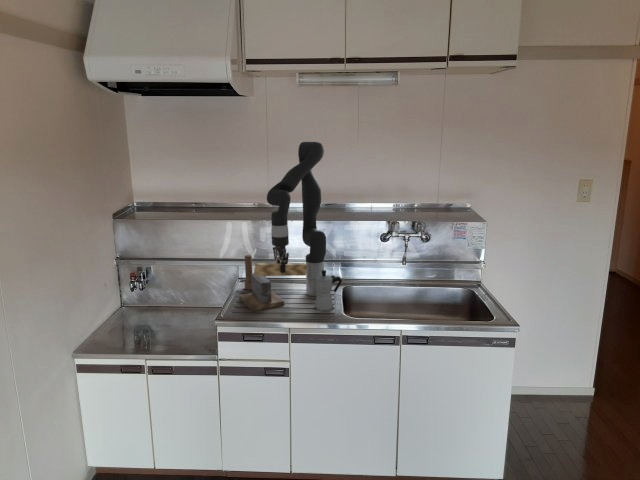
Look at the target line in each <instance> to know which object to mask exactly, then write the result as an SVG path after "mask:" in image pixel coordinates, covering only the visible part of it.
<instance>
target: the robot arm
mask: <svg viewBox="0 0 640 480" xmlns="http://www.w3.org/2000/svg"><path fill="white" fill-rule="evenodd" d="M297 152H298V153H297V155H298V156H297V157H298V164H296V165H295V166H293V167H292V168H290V170H288V171H287V172H286V173H285V175H284V176H283V177H282V179H281V180H280V181H278V182H277V183H276V184H275V185H273V186H272V187H271V188H270V190H269V191H268V192H267V194H266V202H267V203H268V204H269V205H271V206H277V207H278V209H277V210H274V211H272V212H271V217H270V218H271V228H270V229H271V230H270V233H271V234H270V235H271V245H272V246H273V247H272V251H273V257H274V260H275V263H280V271H281V273H285V272H286V269H285V264H288V263H289V257H290V254H289V252H287V248H286V247H287V246H288V245H289V243H290V241H289V240H290V239H289V226H288V213H289V209H290V204H291V200H292V199H291V194H290V193H292V192H294V191H295V189H296V188H297V186H298V185H299V183H300V182H301V198H302V199H301V200H302V201H301V202H302V234H301V235H302V237H301V238H302V241H303V244H305V245H306V246H307V247H309V253H308V254H306V255H305V264H306V265H307V270H306V276H305V282H306V283H305V286H306V287H305V288H306V289H305V292H306V295H307V296H310V297H317V293H318V292H317V291H316V287H315V285H314V284H313V282H312V281H310V280H312V279H314V278H315V277H316V276H320V275H322V272H321V271H322V270H325V257H326V254H327V253H326V252H327V236H326V234H325V232H324V231H322V230H319V229H318V228H317V227H318V226H317V216H318V214H319V211H320V208H321V204H322V188H321V186H320V184H319V181H318V180H317V178H316V177H315V176H314V173H313V170H312V169H313V168H314V167H315V166H316V165H317V164H319V162H320V161H321V160H322V159H323V157H324V155H325V147H324V146H323V144H322V143H321V142H318V141H302V142H301V143H300V144H299V146H298V150H297Z"/></svg>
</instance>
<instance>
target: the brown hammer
mask: <svg viewBox="0 0 640 480" xmlns="http://www.w3.org/2000/svg"><path fill="white" fill-rule="evenodd" d="M252 257H253V256H252V255H251V254H246V255H244V266H245V267H244V269H245V270H244V271H245V282H244V289H245V290H250V291H252V284H251V275H254V272H253V258H252ZM264 277H266V276H264Z"/></svg>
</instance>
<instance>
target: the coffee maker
mask: <svg viewBox="0 0 640 480" xmlns="http://www.w3.org/2000/svg"><path fill="white" fill-rule="evenodd" d="M321 272H322V275H320V276H316V277H315V278H314V279H312V280H310V281H312V282H313V284H314V285H315V287H316V291H317V292H318V293H317V296H315V297H316V298H315V303H314V308H316V310H318V311H321V312H322V311H330V310H332V309H334V304H333V297H332V294H331V292H332V291H333V292H334V293H337V291H338V289H339V287H340V285H341V284H342V282H343V280H342V278H341V277H340V276H335V275H327V270H325V269H324V270H322V271H321ZM337 282H338V283H337ZM334 283H337V284H336V286H335V287H334V289H333V290H332V288H333V284H334Z"/></svg>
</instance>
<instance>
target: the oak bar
mask: <svg viewBox="0 0 640 480" xmlns="http://www.w3.org/2000/svg"><path fill="white" fill-rule="evenodd" d="M253 269H254V270H253V274H255V275H256V276H265V277H272V276H273V277H276V276H277V277H279V276H280V277H281V276H283V277H284V276H285V277H286V276H287V277H288V276H289V277H290V276H293V277H294V276H296V277H297V276H305V277H306V270H307V265H306V262H288V264H285V269H286V272H285V273H281V271H280V263H277V262H254V268H253Z"/></svg>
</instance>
